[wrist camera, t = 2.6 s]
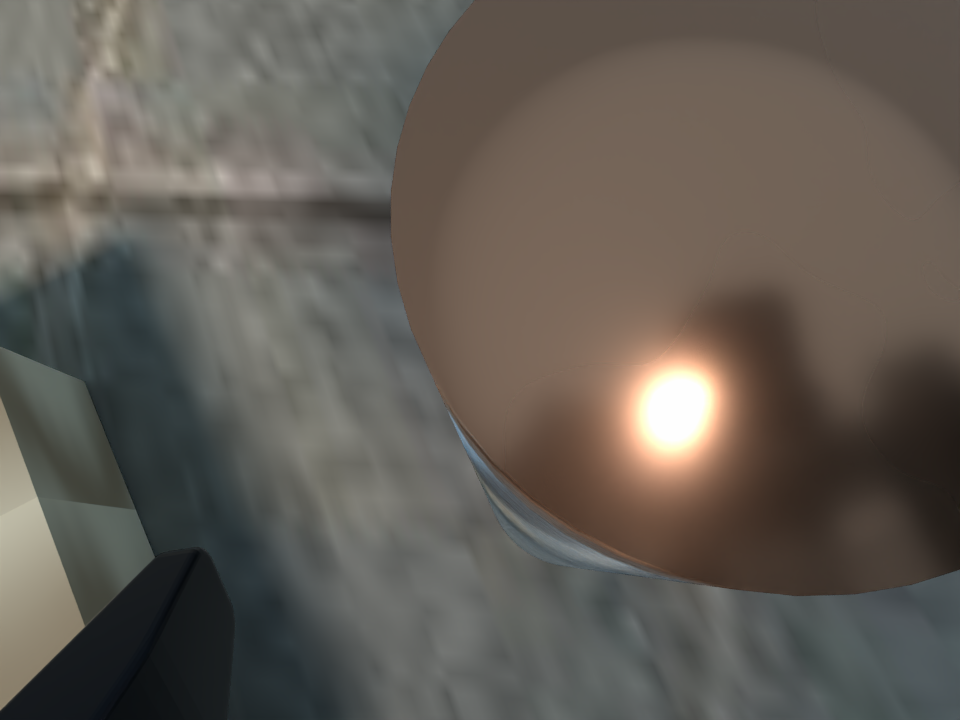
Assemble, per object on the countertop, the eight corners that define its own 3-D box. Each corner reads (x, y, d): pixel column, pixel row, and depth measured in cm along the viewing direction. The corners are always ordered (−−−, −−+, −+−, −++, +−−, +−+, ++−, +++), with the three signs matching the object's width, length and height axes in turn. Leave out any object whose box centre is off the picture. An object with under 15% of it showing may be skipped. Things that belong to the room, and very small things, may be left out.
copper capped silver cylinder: (691, 514, 16) (1358, 341, 3) (539, 599, 16) (637, 762, 3) (603, 365, 17) (868, -216, 4) (457, 444, 16) (269, 70, 4)
